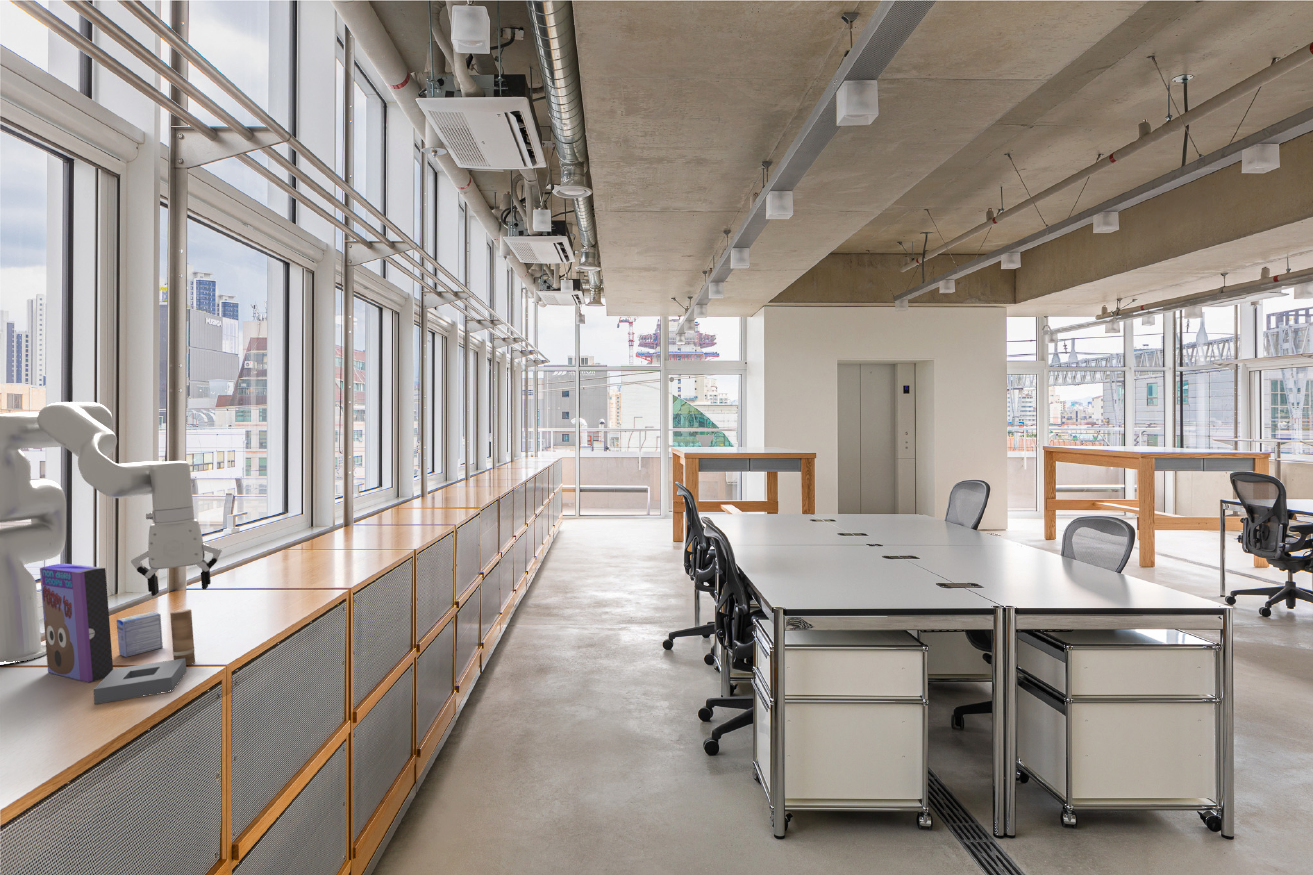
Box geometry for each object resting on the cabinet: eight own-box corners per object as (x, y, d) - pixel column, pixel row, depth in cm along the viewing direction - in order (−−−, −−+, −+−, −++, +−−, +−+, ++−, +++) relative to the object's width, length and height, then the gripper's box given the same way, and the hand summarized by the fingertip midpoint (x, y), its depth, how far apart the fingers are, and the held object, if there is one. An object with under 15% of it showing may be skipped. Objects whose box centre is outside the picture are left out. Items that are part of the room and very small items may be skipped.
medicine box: (156, 645, 181) (153, 610, 181) (163, 648, 178) (160, 613, 178) (118, 654, 175) (115, 619, 174) (125, 657, 172) (122, 621, 172)
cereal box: (48, 672, 164) (39, 567, 163) (73, 665, 168) (64, 562, 167) (88, 683, 155) (79, 571, 154) (113, 675, 160) (105, 567, 159)
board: (114, 682, 155) (113, 668, 155) (186, 671, 160) (185, 658, 160) (94, 704, 143) (93, 689, 143) (172, 691, 148) (171, 677, 148)
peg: (176, 662, 166) (172, 610, 166) (197, 659, 168) (193, 608, 167) (171, 668, 162) (168, 615, 162) (193, 665, 164) (189, 612, 164)
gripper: (123, 522, 157) (129, 600, 158) (215, 513, 164) (221, 589, 164) (132, 518, 164) (139, 593, 165) (221, 510, 171) (227, 582, 171)
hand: (180, 591), depth 164 cm, fingers open, 9 cm apart
